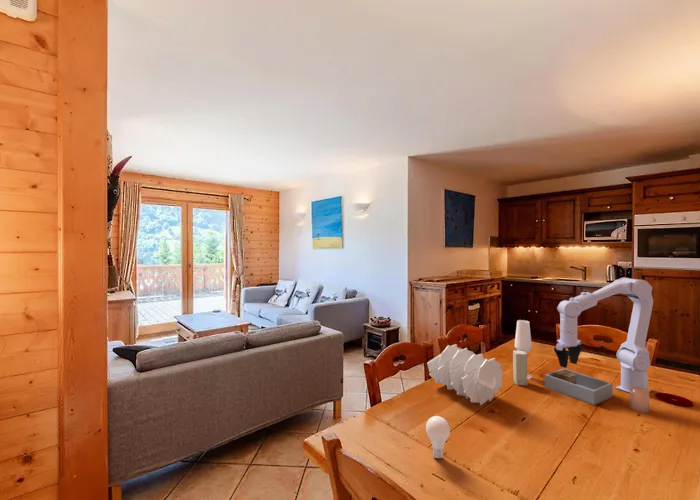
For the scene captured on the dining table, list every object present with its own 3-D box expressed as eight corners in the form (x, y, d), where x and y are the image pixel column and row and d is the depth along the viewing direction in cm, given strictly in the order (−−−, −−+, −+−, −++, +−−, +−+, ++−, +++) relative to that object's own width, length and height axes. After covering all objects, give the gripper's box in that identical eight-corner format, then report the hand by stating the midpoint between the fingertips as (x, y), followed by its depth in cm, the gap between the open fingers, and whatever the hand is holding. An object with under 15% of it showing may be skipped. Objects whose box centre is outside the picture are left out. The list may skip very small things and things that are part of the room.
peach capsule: (634, 404, 119) (634, 385, 119) (651, 410, 114) (652, 390, 114) (627, 407, 116) (627, 388, 116) (645, 414, 112) (645, 393, 112)
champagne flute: (532, 374, 146) (532, 320, 145) (531, 380, 140) (531, 323, 140) (515, 371, 149) (515, 318, 149) (513, 376, 144) (513, 321, 143)
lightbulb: (422, 450, 93) (422, 412, 93) (444, 449, 93) (444, 411, 93) (430, 465, 86) (430, 424, 86) (453, 464, 87) (453, 423, 87)
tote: (563, 380, 140) (563, 368, 140) (612, 396, 125) (612, 383, 125) (544, 386, 134) (544, 374, 134) (593, 405, 118) (593, 391, 118)
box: (527, 386, 134) (527, 354, 134) (516, 385, 135) (516, 354, 135) (523, 380, 140) (523, 350, 139) (512, 380, 140) (512, 349, 140)
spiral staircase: (449, 390, 140) (502, 413, 118) (420, 380, 132) (470, 402, 111) (461, 348, 144) (514, 363, 122) (433, 335, 137) (484, 349, 115)
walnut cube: (576, 387, 132) (576, 374, 132) (569, 389, 130) (569, 377, 129) (563, 382, 136) (563, 370, 136) (556, 385, 134) (556, 372, 134)
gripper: (567, 326, 139) (567, 358, 139) (548, 331, 132) (548, 365, 132) (586, 330, 133) (586, 363, 133) (567, 335, 126) (567, 371, 126)
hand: (568, 365), depth 132 cm, fingers open, 7 cm apart
